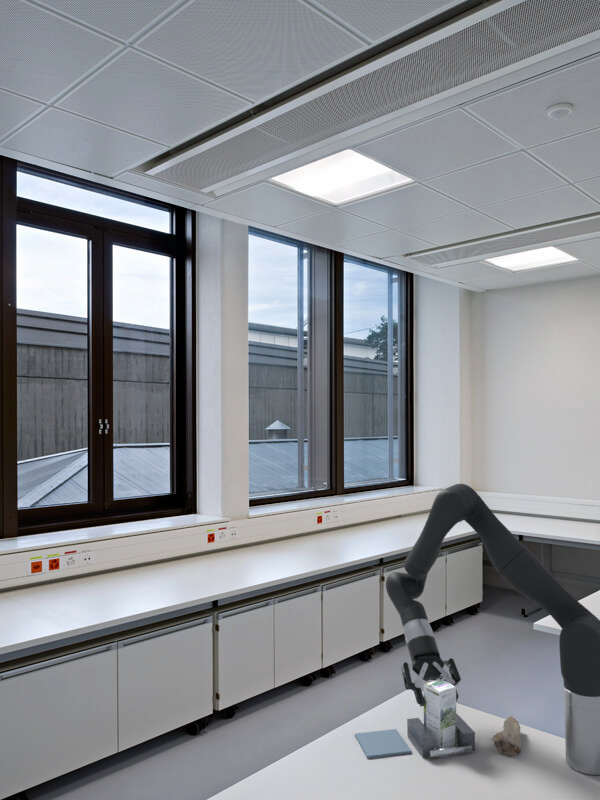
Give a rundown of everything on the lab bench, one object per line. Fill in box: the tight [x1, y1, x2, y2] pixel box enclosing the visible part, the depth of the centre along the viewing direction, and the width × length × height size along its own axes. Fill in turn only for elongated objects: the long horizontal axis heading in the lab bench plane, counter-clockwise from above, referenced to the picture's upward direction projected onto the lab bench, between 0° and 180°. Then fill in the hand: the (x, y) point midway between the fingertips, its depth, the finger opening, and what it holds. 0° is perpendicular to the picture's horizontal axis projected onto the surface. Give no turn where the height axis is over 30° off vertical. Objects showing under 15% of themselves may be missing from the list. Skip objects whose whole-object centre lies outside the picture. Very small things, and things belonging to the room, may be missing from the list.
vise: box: [406, 713, 476, 759], centre depth 155 cm, size 13×12×4 cm
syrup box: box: [423, 679, 457, 749], centre depth 156 cm, size 6×6×14 cm
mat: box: [354, 728, 412, 760], centre depth 156 cm, size 11×11×1 cm
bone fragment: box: [491, 715, 522, 758], centre depth 156 cm, size 14×6×5 cm, turn 150°
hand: (439, 703), depth 156 cm, fingers open, 8 cm apart
